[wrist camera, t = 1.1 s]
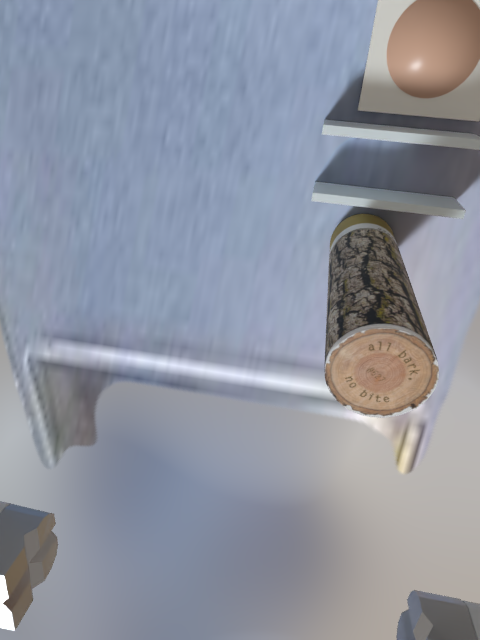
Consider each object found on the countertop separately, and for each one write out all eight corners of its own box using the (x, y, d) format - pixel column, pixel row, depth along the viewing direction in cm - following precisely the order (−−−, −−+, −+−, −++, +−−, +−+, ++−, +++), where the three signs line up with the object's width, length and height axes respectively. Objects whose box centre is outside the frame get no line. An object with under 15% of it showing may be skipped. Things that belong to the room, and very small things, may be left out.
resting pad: (384, -34, 37) (384, -36, 37) (523, -28, 36) (526, -29, 35) (357, 109, 43) (358, 110, 42) (477, 120, 41) (479, 121, 41)
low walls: (324, 119, 44) (323, 124, 39) (473, 133, 42) (488, 140, 38) (314, 189, 47) (311, 200, 43) (451, 205, 45) (462, 219, 41)
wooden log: (363, 198, 47) (385, 306, 25) (407, 241, 48) (464, 378, 26) (317, 243, 50) (302, 372, 28) (359, 282, 51) (375, 433, 30)
